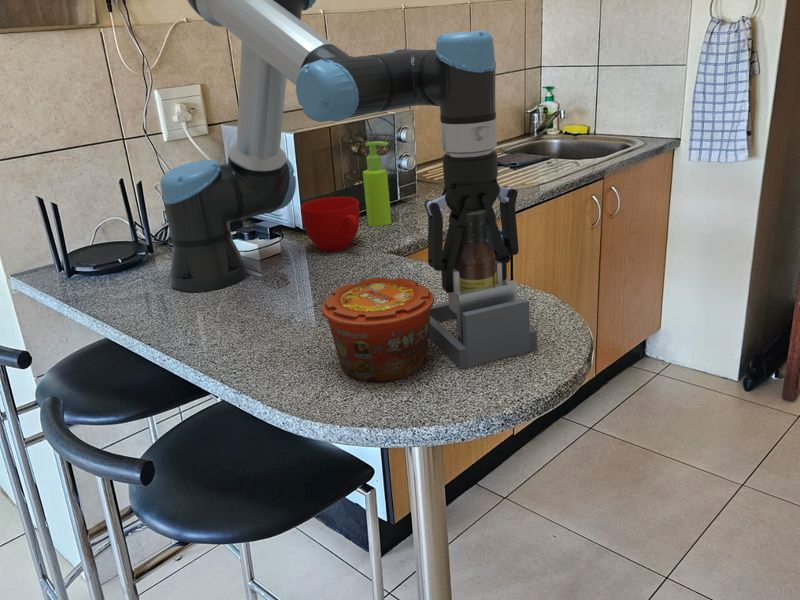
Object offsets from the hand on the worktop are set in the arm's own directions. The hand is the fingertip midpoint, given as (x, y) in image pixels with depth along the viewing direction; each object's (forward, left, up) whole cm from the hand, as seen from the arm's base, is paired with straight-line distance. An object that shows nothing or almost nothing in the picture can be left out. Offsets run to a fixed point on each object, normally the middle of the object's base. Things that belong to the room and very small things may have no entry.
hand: (475, 305), depth 104 cm
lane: (-2, 0, -6) cm, 6 cm away
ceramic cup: (-58, -5, -6) cm, 58 cm away
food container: (0, -15, -6) cm, 16 cm away
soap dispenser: (-72, +10, -6) cm, 73 cm away
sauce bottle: (0, 0, -5) cm, 5 cm away
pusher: (+4, 0, -6) cm, 7 cm away
